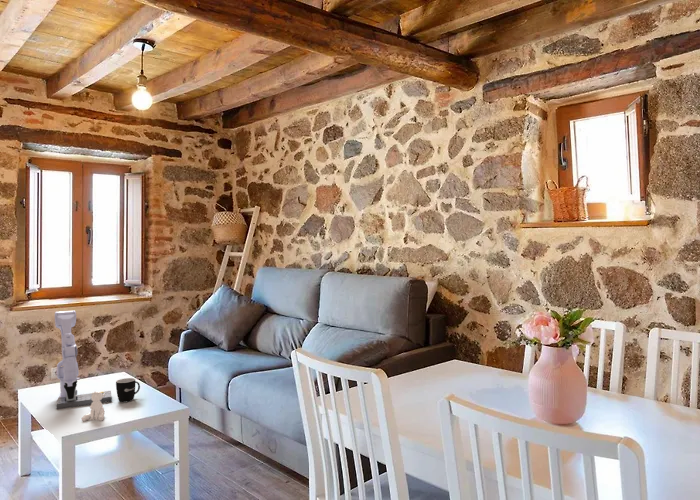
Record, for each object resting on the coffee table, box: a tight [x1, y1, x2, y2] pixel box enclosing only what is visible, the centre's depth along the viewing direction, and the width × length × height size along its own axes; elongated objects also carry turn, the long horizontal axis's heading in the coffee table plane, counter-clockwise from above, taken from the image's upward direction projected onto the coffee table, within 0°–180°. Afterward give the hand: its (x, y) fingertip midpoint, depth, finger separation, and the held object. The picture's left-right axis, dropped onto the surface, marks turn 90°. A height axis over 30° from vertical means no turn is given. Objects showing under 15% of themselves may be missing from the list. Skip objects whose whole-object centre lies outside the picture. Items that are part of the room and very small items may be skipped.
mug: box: [115, 377, 141, 403], centre depth 265 cm, size 12×9×10 cm
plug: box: [66, 387, 78, 401], centre depth 260 cm, size 4×5×7 cm
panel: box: [56, 390, 113, 410], centre depth 262 cm, size 12×24×3 cm, turn 116°
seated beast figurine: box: [81, 390, 105, 422], centre depth 238 cm, size 10×9×12 cm
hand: (71, 397), depth 260 cm, fingers open, 4 cm apart
